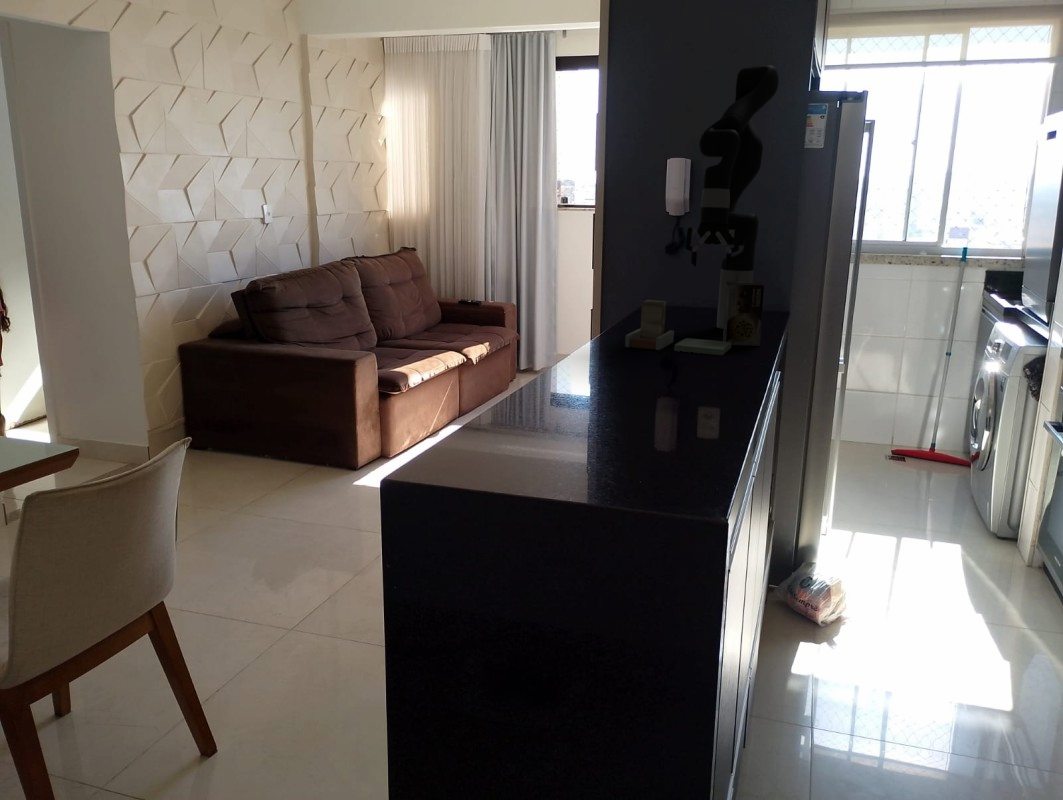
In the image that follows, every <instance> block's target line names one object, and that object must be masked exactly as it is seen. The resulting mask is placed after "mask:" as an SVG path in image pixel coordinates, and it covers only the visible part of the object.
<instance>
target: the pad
mask: <svg viewBox="0 0 1063 800" xmlns="http://www.w3.org/2000/svg"><path fill="white" fill-rule="evenodd" d="M732 346H733V345H732V342H724V341H723V340H722V341H721V340H714V339H713V340H712V339H701V338H700V339H699V338H690V337H685V338H684V339H682V340H680V341H679V342H677V343H676V344H674V347H673V348H674V349H673V351H674V352H680V351H682V352H683V353H691V352H693V353H694V354H701V353H702V354H703V355H714V356H723V355H725V354H726V353H727V352H728V351H729V350H730V349H732ZM682 352H681V353H682ZM693 353H692V354H693Z"/></svg>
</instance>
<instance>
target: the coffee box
mask: <svg viewBox="0 0 1063 800" xmlns="http://www.w3.org/2000/svg"><path fill="white" fill-rule="evenodd" d="M764 293H765V284H763V283H762V282H760V281H759V282H755V281H754V282H753V281H752V282H727V288H726V302H725V317H724V329H723V334H722V341H724V342H732V346H749V347H750V346H751V347H759V346H761V336H762V335H761V333H762V324H763V323H762V321H763V320H762V319H763V307H764V295H765V294H764Z"/></svg>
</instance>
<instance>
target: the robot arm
mask: <svg viewBox="0 0 1063 800" xmlns="http://www.w3.org/2000/svg"><path fill="white" fill-rule="evenodd" d="M779 81H780V80H779V72H778V71H777V68H776V67H775V66H773V65H770V64H769V65H768V64H766V65H765V64H763V65H755V66H746V67H743V68H741V69H740V70H739V71H738V73H737V76H736V83H735V91H734V92H735V93H734V94H735V95H734V102H732V104H730V105H729V106H728V108H727V109H726V110H725V111H724V113H723V114H722V116H721V118H719V119H718V120H716V121H715V122H714V123H713V124H711V125H710V126H709V127H708V128H706V129H705V130H704V131H703V133H702V134H701V136H700V139H699V143H698V148H699V151H700V153H701V154H702V156H704V157H707V158H721V160H720V161H719V163H718V164H715V165H711V166H708V167H706V168H705V170H704V174H703V185H702V186H703V189H702V195H701V201H700V213H699V214H700V215H699V216H700V217H699V226H698V228H693V227H688V228H687V231H686V232H687V233H686V240H685V241H686V242H685V247H684V248H685V249H686V250H688V251H690V252H691V260H690V261H691V265H693V267H696V266H697V259H698V258H697V257H698V249H699V248H700V247H701V246H702V245H703V244H706V245H711V244H713V245H716V246H717V245H722V246H723V248H724V250H725V251H726V253H725V258H723V259H722V260H721V264H720V277H719V278H720V279H719V288H718V289H719V292H718V302H717V315H716V328H718V329H721V330H724V317H725V302H726V288H727V282H753V278H754V264H755V256H756V247H757V240H758V233H759V218H758V216H757V214H755V213H750V212H749V213H747V212H735V210H736V206H737V204H738V202H739V199H740V198H741V196H742V195H743V193H744V192H745V191H746V189H747V187H749V186H750V184H751V183H752V182H753V181H754V179H755V178H756V177H757V175H758V173H759V172H760V170H761V166H762V161H763V160H762V157H763V151H764V145H763V141H762V139H761V137H760V134H759V133H758V130H757V129H756V127H755V125H754V123H753V120H752V119H753V118H754V116H755V115H756V114H757V113H758V112H759V111H760V110H761V109H762V108H763V107H764V106H765V105H766V104H767V103H768V102H769V101H770V100H772V99H773V97H774V96H775V94H776V93H777V91H778V88H779V83H780V82H779ZM696 233H697V234H698V235H699V238H700V239H699V240H698V241H697V243H696V244H695V245H694V246H693V245H692V246H691V242H692V237H693V236H695V235H696ZM730 246H733V247H730ZM740 247H743V248H742V250H741V251H740V252H739V253H737V254H735V255H732V254H733V253H736V252H738V251H739V250H740Z"/></svg>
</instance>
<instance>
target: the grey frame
mask: <svg viewBox="0 0 1063 800" xmlns="http://www.w3.org/2000/svg"><path fill="white" fill-rule="evenodd" d="M640 331H641V327H640V328H638V329H636V330H634V331H632V332H629V333H628V334H625V337H624V338H625V341H624V342H625V343H624V344H625V345H624V348H634V349H635V348H636V349H637V348H638V349H645V350H647V349H648V350H656V351H661V350H662V349H664V348H665V347H668V346H669V345H671V344H673V343H674V336H675V335H674V334H675V330H671V329H670V330H668V331H666V332H664V334H663V335H661V336H659V337H657V338H656V340H655V339H644V338H640ZM660 349H661V350H660Z"/></svg>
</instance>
